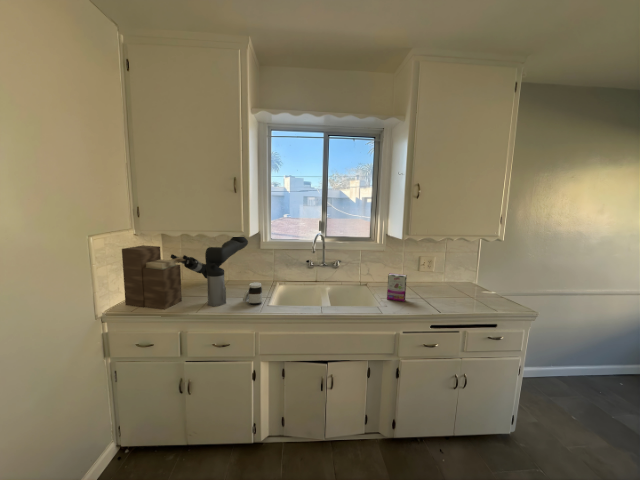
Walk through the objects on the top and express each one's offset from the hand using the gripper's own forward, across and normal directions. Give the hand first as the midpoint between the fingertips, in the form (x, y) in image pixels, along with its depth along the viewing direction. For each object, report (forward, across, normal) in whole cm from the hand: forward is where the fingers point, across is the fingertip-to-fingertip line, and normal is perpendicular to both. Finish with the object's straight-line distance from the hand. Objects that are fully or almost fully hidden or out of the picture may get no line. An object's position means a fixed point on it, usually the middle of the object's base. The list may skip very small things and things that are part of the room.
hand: (177, 256), depth 160 cm
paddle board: (+3, 0, +6) cm, 7 cm away
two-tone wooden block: (-2, -6, +28) cm, 29 cm away
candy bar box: (-42, +132, +6) cm, 138 cm away
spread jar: (-16, +47, +20) cm, 54 cm away
